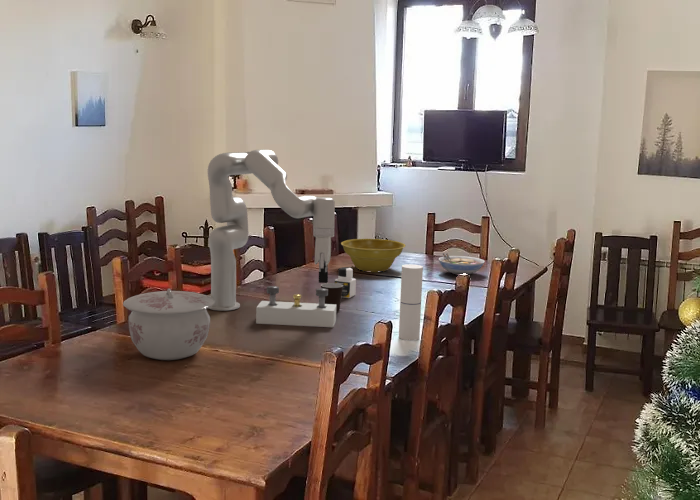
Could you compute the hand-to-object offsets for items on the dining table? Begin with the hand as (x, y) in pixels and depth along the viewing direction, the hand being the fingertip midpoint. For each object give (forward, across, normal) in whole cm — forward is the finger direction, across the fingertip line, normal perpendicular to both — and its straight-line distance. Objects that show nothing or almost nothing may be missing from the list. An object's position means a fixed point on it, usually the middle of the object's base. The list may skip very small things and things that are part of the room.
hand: (323, 282), depth 274 cm
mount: (+15, 0, -10) cm, 18 cm away
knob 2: (+9, 0, -1) cm, 9 cm away
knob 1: (+9, 0, -18) cm, 21 cm away
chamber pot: (+15, +45, -43) cm, 64 cm away
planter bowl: (+15, -106, +13) cm, 108 cm away
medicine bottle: (+15, -46, +4) cm, 49 cm away
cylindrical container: (+16, +13, +31) cm, 37 cm away
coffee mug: (+15, -21, +1) cm, 26 cm away
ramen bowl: (+16, -105, +57) cm, 121 cm away
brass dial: (+9, 0, -10) cm, 13 cm away
